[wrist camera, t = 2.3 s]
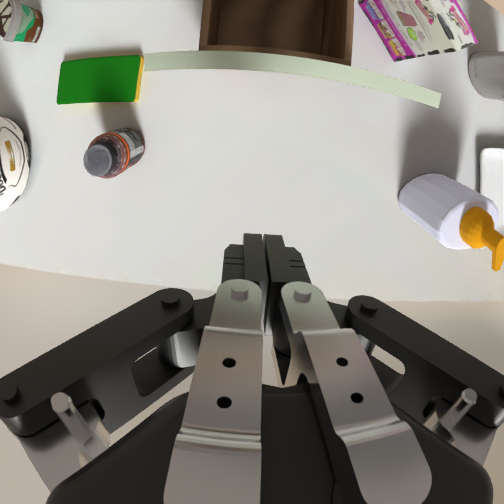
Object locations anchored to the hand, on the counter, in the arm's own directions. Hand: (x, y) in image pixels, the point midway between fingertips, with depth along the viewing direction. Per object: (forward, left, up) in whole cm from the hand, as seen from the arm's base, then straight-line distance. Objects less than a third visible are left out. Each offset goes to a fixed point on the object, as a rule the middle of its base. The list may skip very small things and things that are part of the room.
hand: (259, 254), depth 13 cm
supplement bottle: (+18, 0, -33) cm, 38 cm away
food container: (+39, -26, -33) cm, 57 cm away
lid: (-2, -10, -13) cm, 17 cm away
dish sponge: (+23, -11, -34) cm, 42 cm away
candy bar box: (-20, -23, -33) cm, 45 cm away
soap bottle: (-32, +4, -33) cm, 46 cm away
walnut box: (-2, -20, -33) cm, 38 cm away
